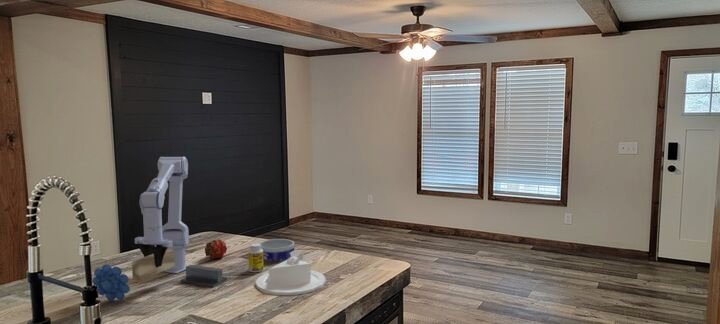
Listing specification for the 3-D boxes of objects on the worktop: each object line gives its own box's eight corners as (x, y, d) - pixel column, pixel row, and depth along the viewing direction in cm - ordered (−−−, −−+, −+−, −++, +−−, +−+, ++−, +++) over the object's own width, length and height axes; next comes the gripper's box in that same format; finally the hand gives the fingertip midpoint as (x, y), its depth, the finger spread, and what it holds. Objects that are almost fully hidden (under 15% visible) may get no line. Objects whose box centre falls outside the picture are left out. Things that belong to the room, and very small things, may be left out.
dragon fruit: (206, 266, 192) (221, 261, 204) (221, 254, 191) (236, 251, 202) (196, 248, 194) (212, 245, 205) (211, 237, 192) (227, 234, 204)
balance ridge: (180, 282, 168) (180, 269, 167) (195, 275, 175) (195, 262, 175) (213, 287, 163) (212, 273, 163) (227, 280, 171) (226, 266, 170)
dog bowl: (251, 261, 194) (251, 246, 194) (267, 250, 209) (266, 237, 209) (286, 263, 191) (286, 249, 190) (299, 253, 206) (299, 239, 205)
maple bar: (132, 279, 153) (132, 261, 152) (168, 265, 168) (167, 248, 167) (139, 280, 152) (139, 262, 151) (174, 266, 167) (174, 249, 166)
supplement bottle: (251, 273, 178) (251, 247, 177) (246, 269, 182) (246, 244, 181) (265, 271, 181) (265, 245, 180) (260, 267, 185) (259, 242, 184)
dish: (297, 267, 186) (297, 240, 185) (339, 283, 168) (339, 253, 167) (242, 282, 169) (242, 252, 168) (283, 302, 151) (282, 268, 150)
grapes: (86, 306, 147) (84, 268, 146) (97, 297, 154) (95, 262, 152) (123, 305, 147) (122, 268, 146) (133, 297, 154) (131, 261, 153)
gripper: (126, 227, 157) (128, 266, 158) (161, 231, 152) (162, 271, 154) (143, 223, 164) (144, 260, 165) (176, 226, 159) (177, 265, 160)
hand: (154, 265), depth 160 cm, fingers closed on maple bar, 3 cm apart
